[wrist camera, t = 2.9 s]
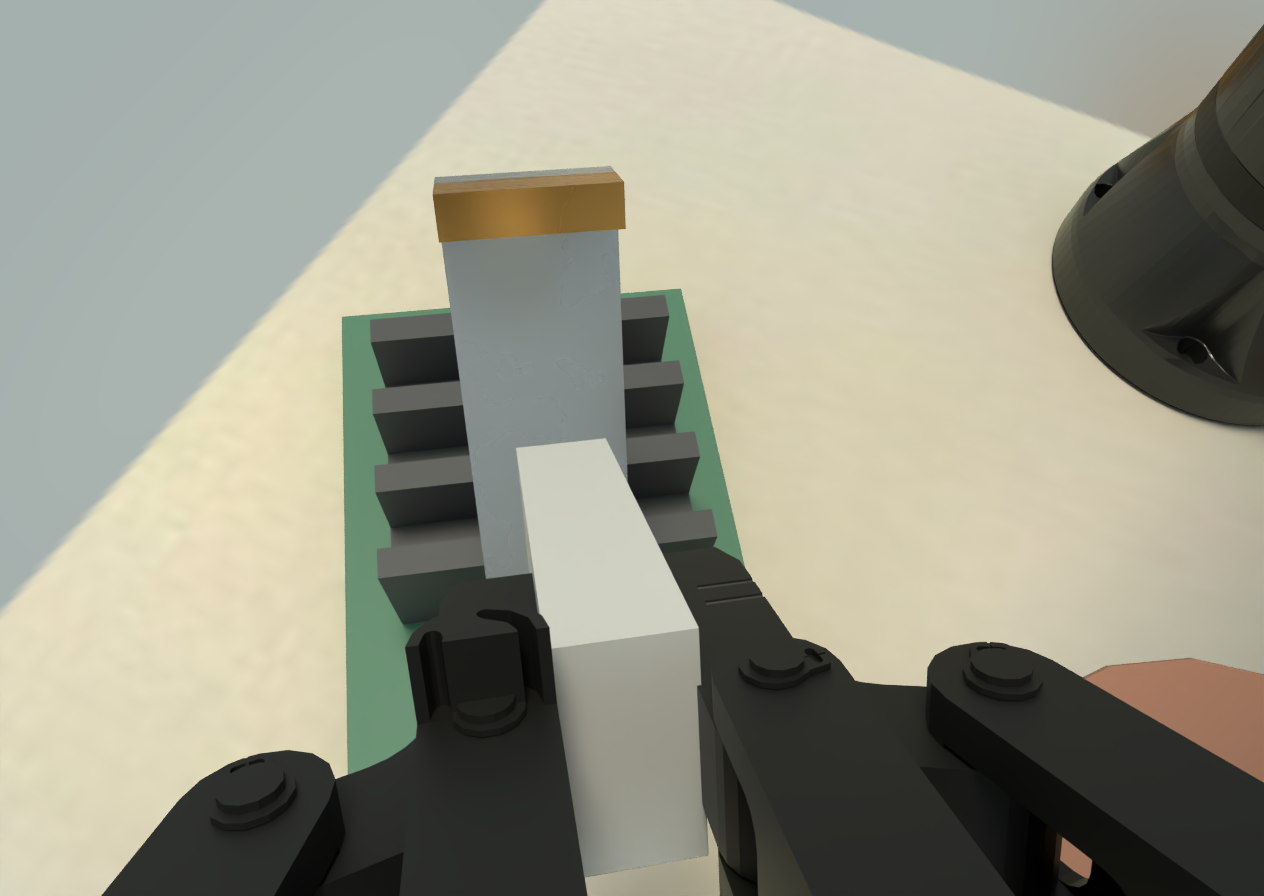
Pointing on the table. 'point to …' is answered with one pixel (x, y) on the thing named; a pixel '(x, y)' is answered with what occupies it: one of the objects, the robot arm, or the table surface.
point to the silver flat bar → (532, 327)
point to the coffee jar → (1190, 713)
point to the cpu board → (444, 491)
